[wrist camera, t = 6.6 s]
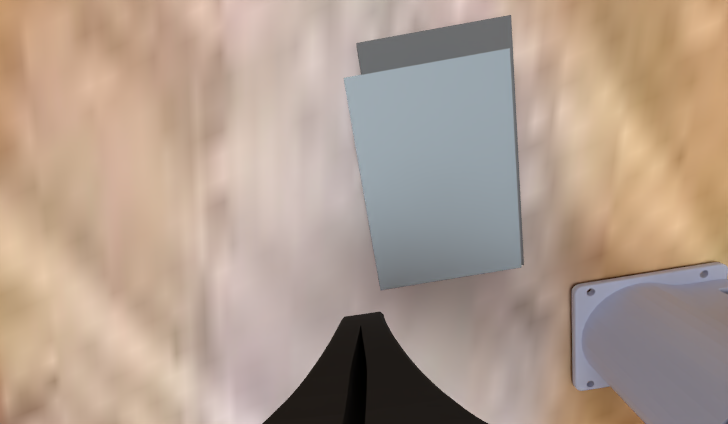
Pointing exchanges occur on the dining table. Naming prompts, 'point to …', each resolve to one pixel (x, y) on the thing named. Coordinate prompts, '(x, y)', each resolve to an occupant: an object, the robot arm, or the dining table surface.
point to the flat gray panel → (443, 56)
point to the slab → (438, 167)
